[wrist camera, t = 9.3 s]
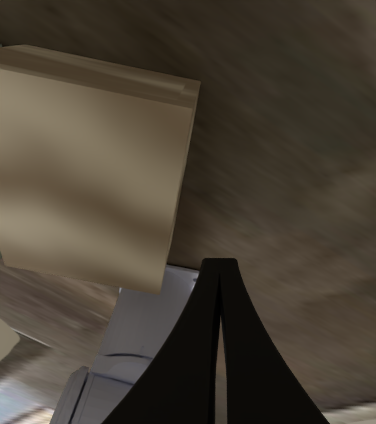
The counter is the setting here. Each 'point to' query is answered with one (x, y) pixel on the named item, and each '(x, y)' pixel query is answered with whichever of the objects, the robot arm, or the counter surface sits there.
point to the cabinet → (90, 166)
